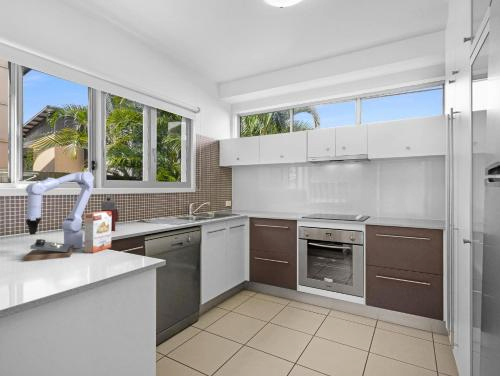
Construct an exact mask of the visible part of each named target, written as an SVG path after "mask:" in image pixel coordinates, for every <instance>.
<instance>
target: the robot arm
mask: <svg viewBox="0 0 500 376" xmlns="http://www.w3.org/2000/svg"><path fill="white" fill-rule="evenodd" d="M94 179H95V176H94V175H93V173H92V172H90V171H77V172H72V173H69V174H66V175H63V176H61V177H58V178H54V177H46V179H43V180H37V181H36V183H33V182H32V183H30V184H28V185H27V186H26V188H25V192H26V193H27V203H26V215H23V218H28V219H27V220H25V222H26V225H27V227H28V232H29V235H31V236H32V235H36V234H37V230H38V226H39V224H40V222H41V220H42V218H41V217H42V204H43V203H42V201H43V194H44V193H45V192H48V191H50V190H55V189H57V188H58V187H59V185H62V184H65V183H68V182H71V181H72V182H73V181H74V182H75V183H77V184H78V186H79V187H80V188H81V190H80V192H79V194H78V197H77V198H76V201H75V202H74V203H75V204H74V205H73V208H72V209H71V212H70V214H68V215H67V216H66V217H65V219H64V220H63V221H62V223H61V229H62V230H63V244H71V246H72V245H74V249H82V248H84V232H83V231H80V230H82V229H81V228H82V223H83V218H82V215H83V213H84V211H85V209H86V206H87V204H88V202H89V199H90V197H91V195H92V192H93V190H94Z"/></svg>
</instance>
